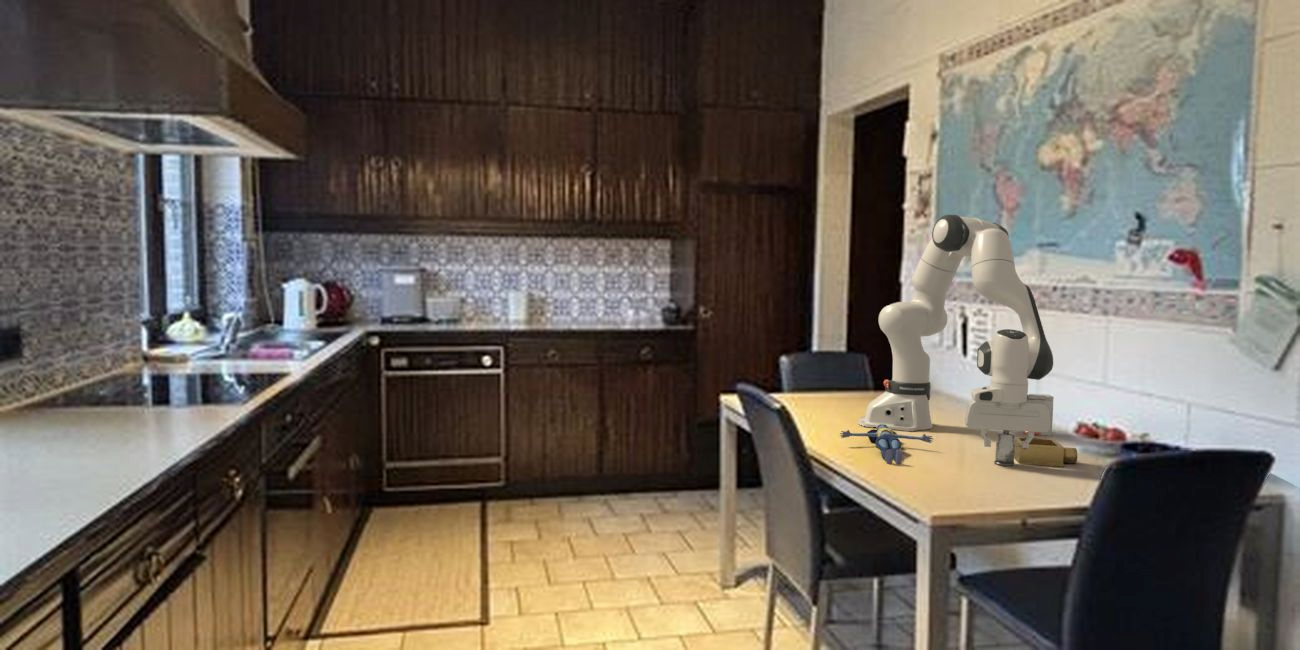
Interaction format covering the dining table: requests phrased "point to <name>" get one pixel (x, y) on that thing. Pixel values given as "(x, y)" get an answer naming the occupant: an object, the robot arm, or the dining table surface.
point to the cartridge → (1005, 449)
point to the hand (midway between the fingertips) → (1006, 447)
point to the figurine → (887, 442)
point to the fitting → (1043, 452)
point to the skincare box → (1050, 412)
